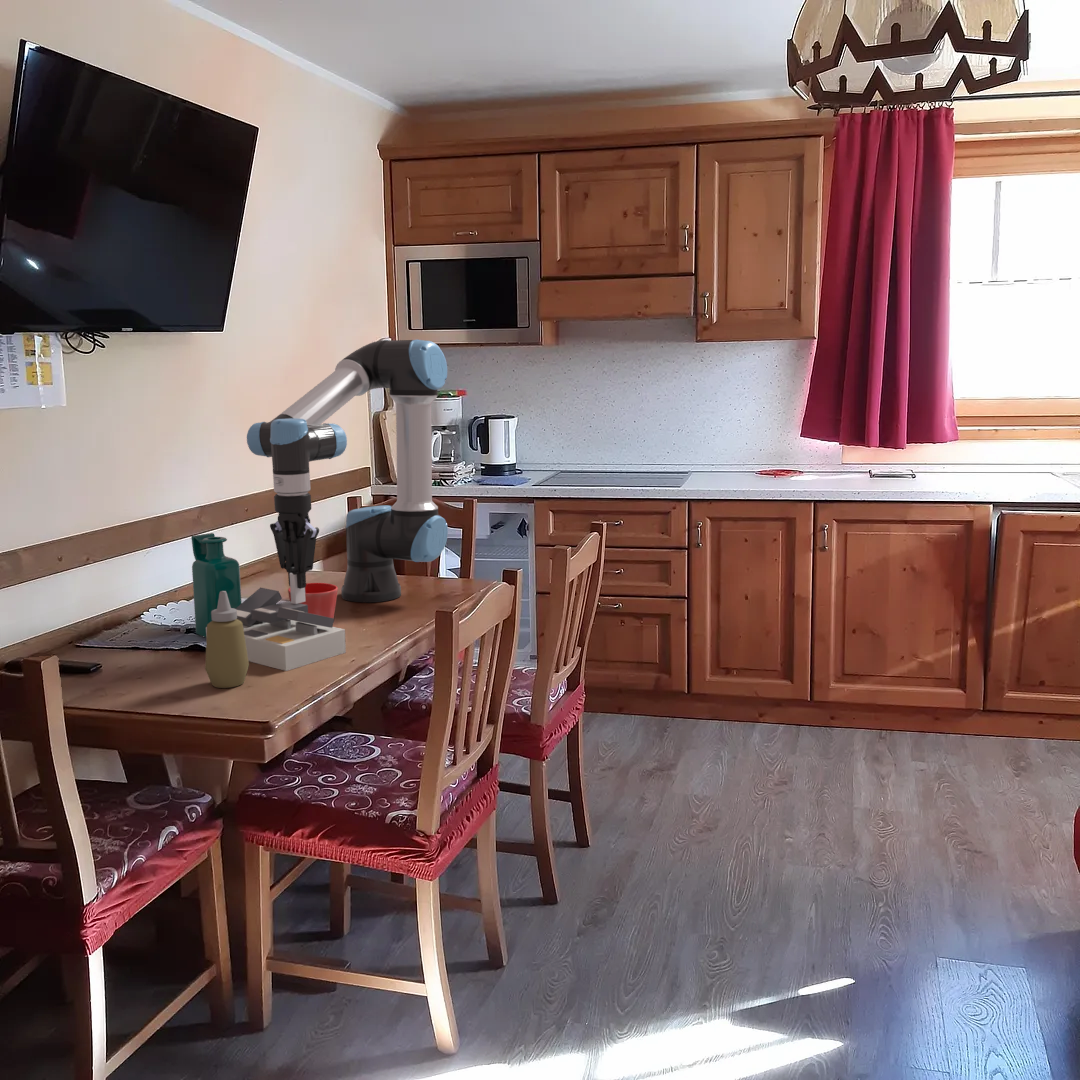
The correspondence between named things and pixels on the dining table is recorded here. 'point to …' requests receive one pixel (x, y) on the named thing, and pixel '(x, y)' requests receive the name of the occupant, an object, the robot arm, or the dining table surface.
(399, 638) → the dining table surface
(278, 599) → the rocker
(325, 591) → the flower pot
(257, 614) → the rocker
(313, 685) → the dining table surface
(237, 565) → the pitcher
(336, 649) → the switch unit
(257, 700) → the dining table surface
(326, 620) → the rocker
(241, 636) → the squeeze bottle
